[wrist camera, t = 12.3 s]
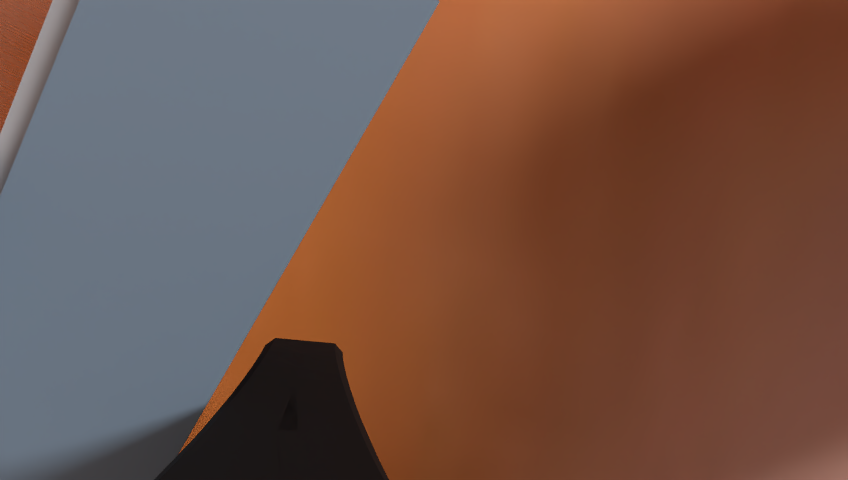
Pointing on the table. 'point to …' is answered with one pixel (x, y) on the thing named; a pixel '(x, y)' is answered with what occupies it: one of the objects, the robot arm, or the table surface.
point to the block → (17, 44)
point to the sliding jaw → (165, 207)
